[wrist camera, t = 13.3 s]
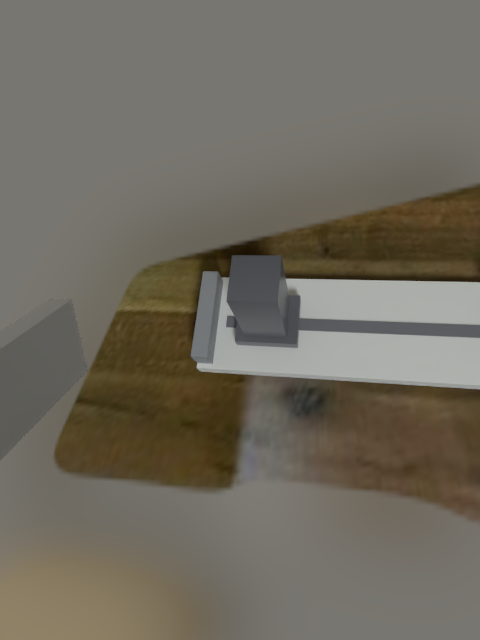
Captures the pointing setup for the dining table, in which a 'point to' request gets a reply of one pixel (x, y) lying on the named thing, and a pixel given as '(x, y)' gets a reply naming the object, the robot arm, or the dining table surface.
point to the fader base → (354, 333)
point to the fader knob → (262, 302)
